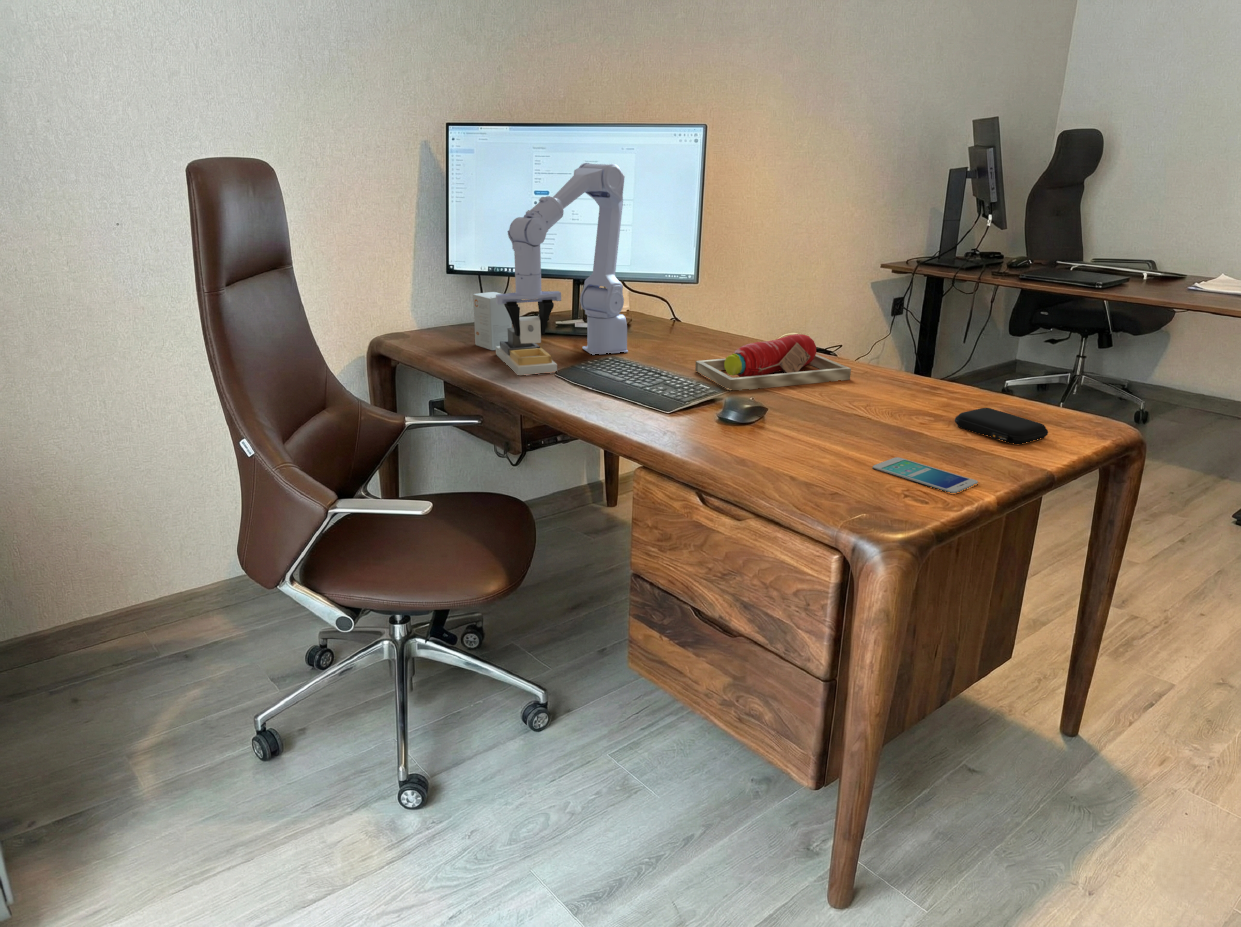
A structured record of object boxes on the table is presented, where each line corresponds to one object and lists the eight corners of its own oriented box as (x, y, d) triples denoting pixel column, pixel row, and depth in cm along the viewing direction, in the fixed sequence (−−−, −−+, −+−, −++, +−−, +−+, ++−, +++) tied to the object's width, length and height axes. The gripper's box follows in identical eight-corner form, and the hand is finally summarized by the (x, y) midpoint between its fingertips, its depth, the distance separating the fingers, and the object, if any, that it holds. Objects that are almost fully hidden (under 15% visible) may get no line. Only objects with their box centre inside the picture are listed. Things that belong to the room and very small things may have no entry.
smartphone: (897, 456, 152) (980, 481, 142) (896, 461, 153) (979, 486, 142) (870, 466, 148) (954, 492, 137) (870, 470, 148) (953, 497, 137)
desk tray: (808, 361, 216) (809, 351, 215) (850, 379, 201) (851, 368, 200) (695, 371, 206) (695, 361, 206) (729, 391, 191) (730, 379, 190)
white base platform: (532, 351, 224) (531, 337, 223) (557, 372, 205) (556, 357, 204) (496, 354, 221) (495, 340, 220) (518, 376, 202) (517, 360, 201)
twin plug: (526, 347, 220) (525, 326, 218) (533, 353, 214) (532, 332, 212) (508, 348, 218) (507, 328, 217) (514, 354, 213) (514, 333, 211)
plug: (539, 337, 209) (538, 316, 207) (541, 344, 203) (540, 321, 201) (519, 338, 209) (518, 316, 207) (521, 345, 202) (520, 322, 201)
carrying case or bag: (944, 428, 169) (1013, 451, 158) (946, 412, 168) (1015, 434, 156) (982, 419, 175) (1051, 440, 163) (985, 404, 173) (1054, 424, 162)
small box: (513, 347, 229) (511, 295, 224) (491, 350, 225) (489, 298, 221) (496, 341, 235) (493, 291, 230) (474, 345, 231) (472, 293, 226)
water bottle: (836, 343, 204) (757, 360, 190) (828, 376, 208) (750, 395, 193) (796, 325, 212) (718, 340, 198) (789, 357, 216) (712, 374, 201)
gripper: (554, 269, 207) (555, 328, 212) (491, 272, 203) (494, 332, 207) (563, 273, 201) (564, 334, 206) (498, 277, 196) (501, 339, 201)
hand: (529, 334), depth 206 cm, fingers closed on plug, 5 cm apart
